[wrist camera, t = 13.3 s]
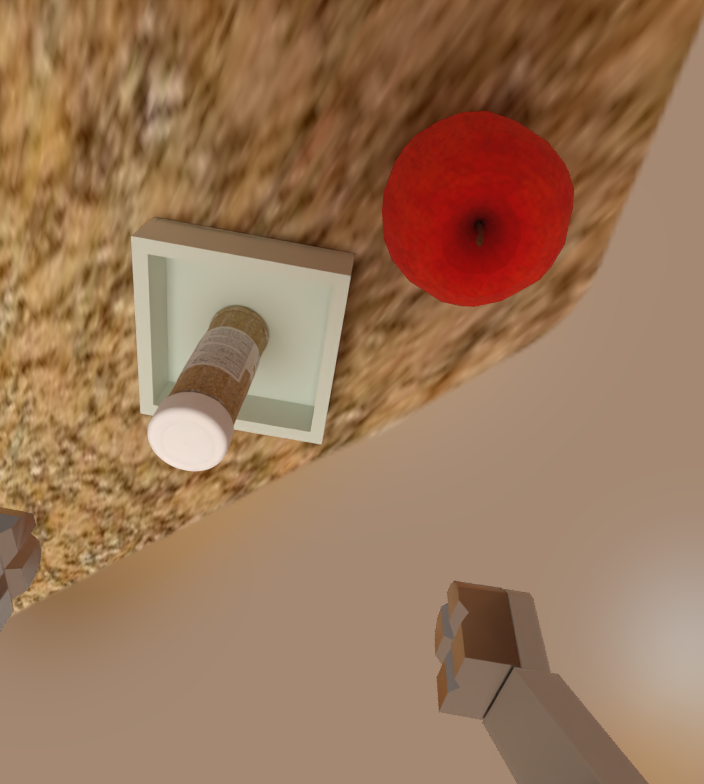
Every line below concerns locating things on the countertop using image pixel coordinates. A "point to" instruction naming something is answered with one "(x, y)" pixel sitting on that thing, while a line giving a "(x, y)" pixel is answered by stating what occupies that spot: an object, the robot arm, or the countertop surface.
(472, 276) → the apple
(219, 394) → the sprinkles bottle
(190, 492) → the countertop surface
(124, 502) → the countertop surface
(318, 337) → the bin
